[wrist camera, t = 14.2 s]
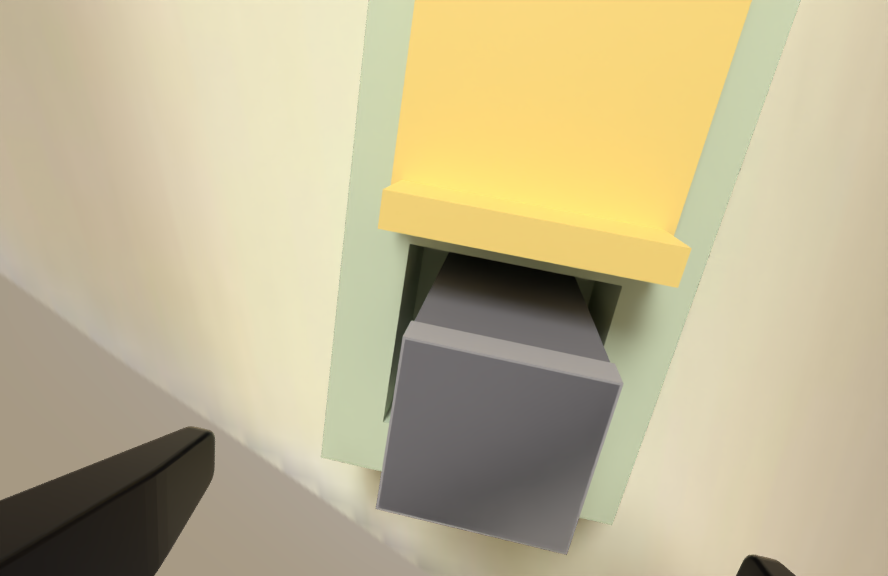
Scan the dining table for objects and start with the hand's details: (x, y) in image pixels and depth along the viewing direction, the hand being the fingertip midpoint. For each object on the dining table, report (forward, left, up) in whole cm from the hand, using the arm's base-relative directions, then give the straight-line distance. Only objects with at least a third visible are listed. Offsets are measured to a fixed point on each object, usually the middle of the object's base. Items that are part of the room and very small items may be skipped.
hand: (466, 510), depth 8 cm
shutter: (0, -7, -5) cm, 9 cm away
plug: (0, 0, -9) cm, 9 cm away
